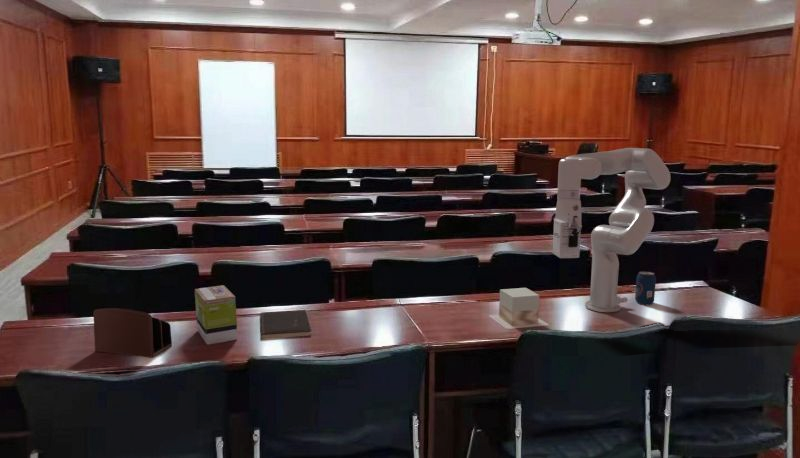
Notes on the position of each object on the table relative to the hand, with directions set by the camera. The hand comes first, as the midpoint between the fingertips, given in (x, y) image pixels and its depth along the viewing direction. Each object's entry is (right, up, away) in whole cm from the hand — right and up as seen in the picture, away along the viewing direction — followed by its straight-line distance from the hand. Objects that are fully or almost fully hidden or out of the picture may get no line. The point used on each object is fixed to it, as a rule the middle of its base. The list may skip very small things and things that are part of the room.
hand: (566, 244), depth 215 cm
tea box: (-117, -30, -15) cm, 122 cm away
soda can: (+37, -24, +25) cm, 51 cm away
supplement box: (0, -4, +1) cm, 4 cm away
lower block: (-17, -26, 0) cm, 31 cm away
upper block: (-17, -22, -1) cm, 27 cm away
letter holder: (-139, -32, -27) cm, 145 cm away
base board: (-17, -27, 0) cm, 32 cm away
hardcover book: (-97, -28, -5) cm, 101 cm away
